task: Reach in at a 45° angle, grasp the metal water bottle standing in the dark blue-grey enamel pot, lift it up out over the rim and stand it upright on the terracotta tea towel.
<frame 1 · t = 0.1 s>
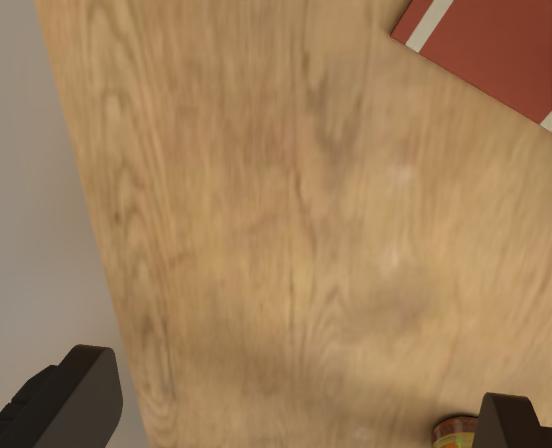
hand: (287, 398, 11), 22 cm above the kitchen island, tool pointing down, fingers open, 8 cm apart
sauce bottle: (463, 432, 45), on the kitchen island
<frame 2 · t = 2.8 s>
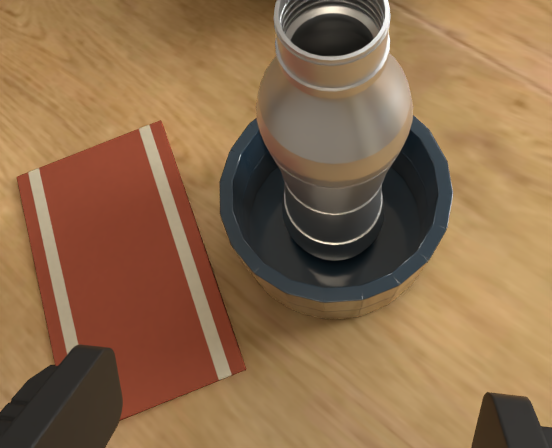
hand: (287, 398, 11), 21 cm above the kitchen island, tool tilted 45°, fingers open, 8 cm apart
metal water bottle: (332, 223, 34), resting on pot
pot: (332, 223, 34), on the kitchen island
towel: (121, 264, 35), on the kitchen island
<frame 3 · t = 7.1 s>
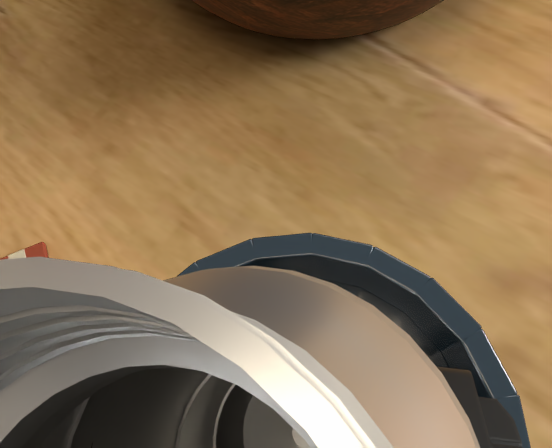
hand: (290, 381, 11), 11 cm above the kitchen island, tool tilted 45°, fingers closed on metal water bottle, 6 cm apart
metal water bottle: (307, 433, 20), resting on pot, touching gripper
pot: (307, 433, 20), on the kitchen island
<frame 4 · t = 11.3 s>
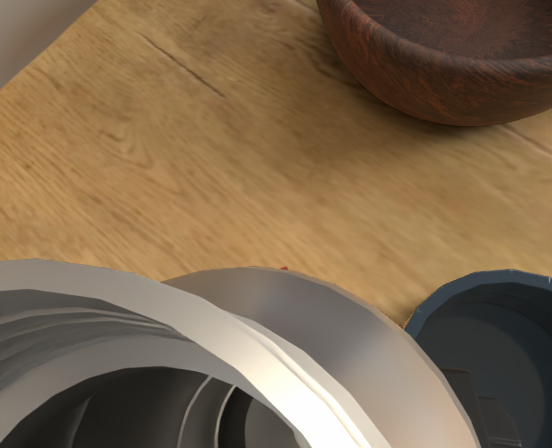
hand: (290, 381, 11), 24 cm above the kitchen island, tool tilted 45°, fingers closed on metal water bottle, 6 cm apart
wooden bowl: (457, 29, 42), on the kitchen island
metal water bottle: (309, 433, 20), point 13 cm above the kitchen island, touching gripper
pot: (485, 391, 32), on the kitchen island
when the fingers open (11 cm above the kitchen island, at t = 16.0 s): metal water bottle stays where it is, resting on towel.
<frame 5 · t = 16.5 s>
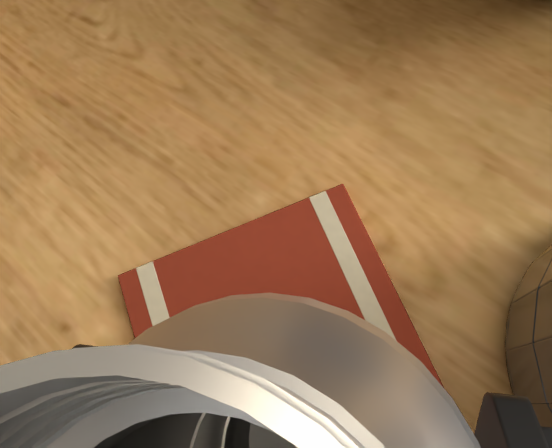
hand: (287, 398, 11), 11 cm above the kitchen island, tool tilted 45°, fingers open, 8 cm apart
metal water bottle: (312, 440, 21), resting on towel
towel: (309, 434, 21), on the kitchen island
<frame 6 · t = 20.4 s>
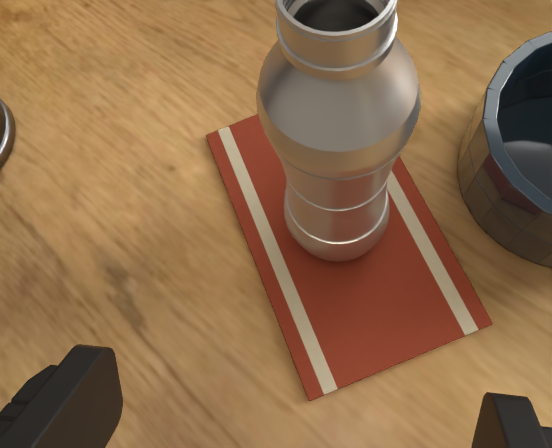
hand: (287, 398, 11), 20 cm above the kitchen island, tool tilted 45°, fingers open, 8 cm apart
metal water bottle: (336, 223, 33), resting on towel
towel: (334, 221, 33), on the kitchen island
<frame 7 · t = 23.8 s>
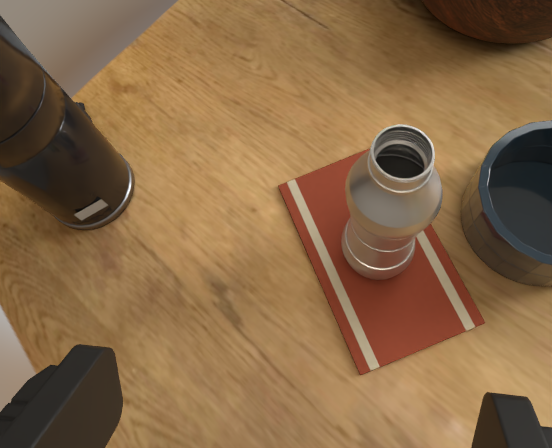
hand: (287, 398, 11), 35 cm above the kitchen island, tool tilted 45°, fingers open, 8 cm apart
metal water bottle: (375, 252, 47), resting on towel
pot: (533, 217, 46), on the kitchen island
towel: (373, 250, 47), on the kitchen island
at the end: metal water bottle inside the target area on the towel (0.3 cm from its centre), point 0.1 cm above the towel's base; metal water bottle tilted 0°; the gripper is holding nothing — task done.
